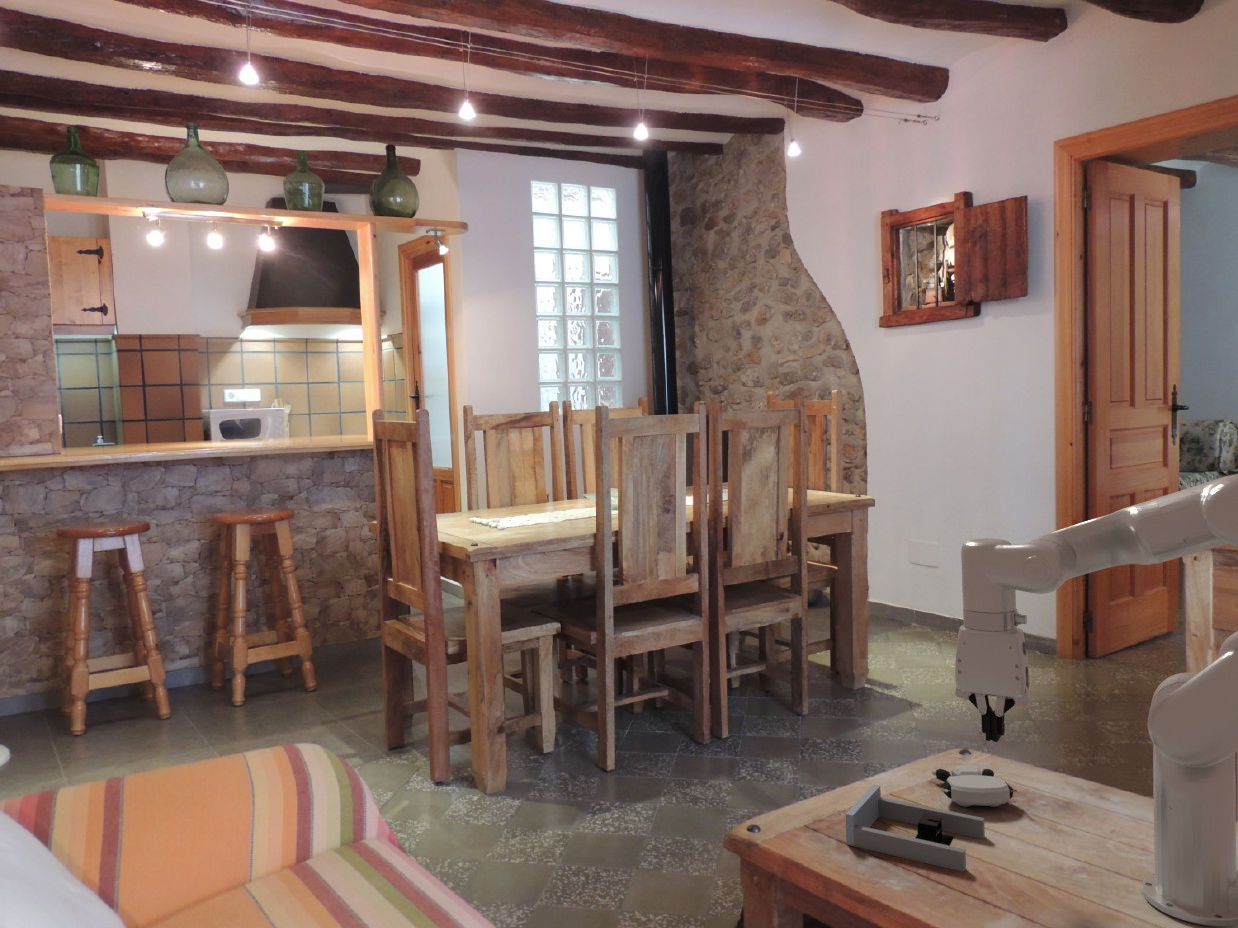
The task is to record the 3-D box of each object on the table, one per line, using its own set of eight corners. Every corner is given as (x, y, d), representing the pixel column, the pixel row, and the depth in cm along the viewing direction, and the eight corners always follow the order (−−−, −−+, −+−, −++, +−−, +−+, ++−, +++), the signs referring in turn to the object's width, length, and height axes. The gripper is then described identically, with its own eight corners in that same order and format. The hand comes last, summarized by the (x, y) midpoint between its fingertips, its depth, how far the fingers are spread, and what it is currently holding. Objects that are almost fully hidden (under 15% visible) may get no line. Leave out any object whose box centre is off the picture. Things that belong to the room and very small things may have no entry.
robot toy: (928, 785, 169) (947, 813, 154) (927, 761, 169) (946, 787, 154) (996, 785, 168) (1022, 814, 153) (995, 761, 168) (1021, 787, 153)
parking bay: (984, 836, 146) (983, 805, 146) (964, 872, 135) (963, 839, 134) (874, 812, 156) (873, 784, 156) (846, 844, 145) (845, 813, 145)
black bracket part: (944, 870, 137) (943, 840, 136) (896, 860, 141) (895, 831, 140) (961, 836, 147) (960, 808, 147) (915, 827, 151) (914, 800, 151)
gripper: (1047, 619, 136) (1051, 738, 137) (945, 611, 144) (949, 724, 145) (1038, 629, 130) (1042, 754, 130) (932, 621, 138) (936, 738, 139)
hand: (993, 738), depth 138 cm, fingers closed
